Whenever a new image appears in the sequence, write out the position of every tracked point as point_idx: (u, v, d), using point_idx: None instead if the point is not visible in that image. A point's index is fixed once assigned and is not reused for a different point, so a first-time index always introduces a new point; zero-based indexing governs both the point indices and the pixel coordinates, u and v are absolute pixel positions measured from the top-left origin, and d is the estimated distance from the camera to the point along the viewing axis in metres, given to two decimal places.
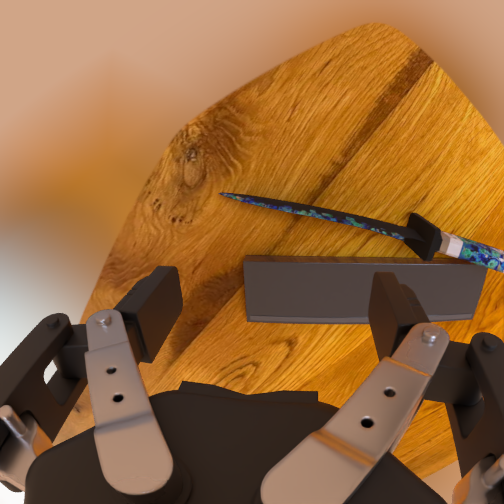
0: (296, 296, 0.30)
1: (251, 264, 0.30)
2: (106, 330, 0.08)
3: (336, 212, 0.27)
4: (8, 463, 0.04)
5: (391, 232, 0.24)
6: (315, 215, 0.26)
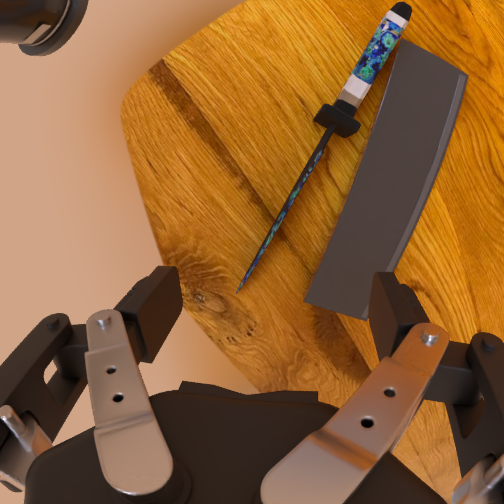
0: (359, 269, 0.28)
1: (309, 296, 0.30)
2: (106, 330, 0.08)
3: (285, 203, 0.27)
4: (8, 463, 0.04)
5: (314, 160, 0.23)
6: (275, 229, 0.26)
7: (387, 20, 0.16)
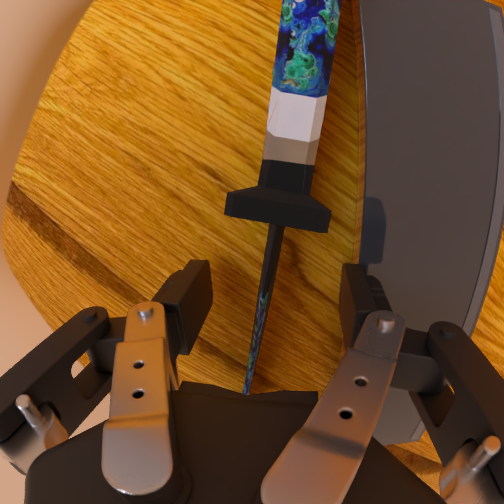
0: (395, 402, 0.15)
1: None
2: (145, 323, 0.09)
3: None
4: (17, 450, 0.05)
5: None
6: None
7: None
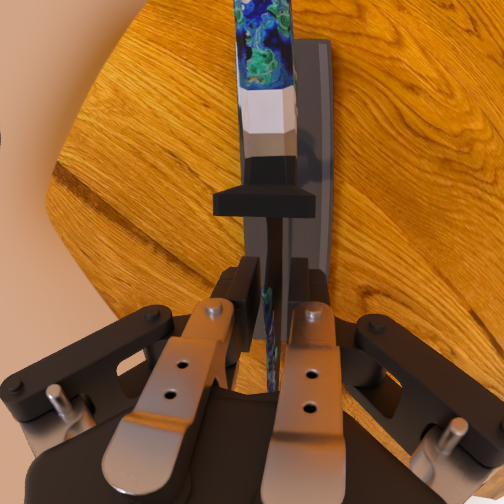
0: None
1: None
2: (209, 320, 0.09)
3: None
4: (36, 434, 0.05)
5: None
6: None
7: None
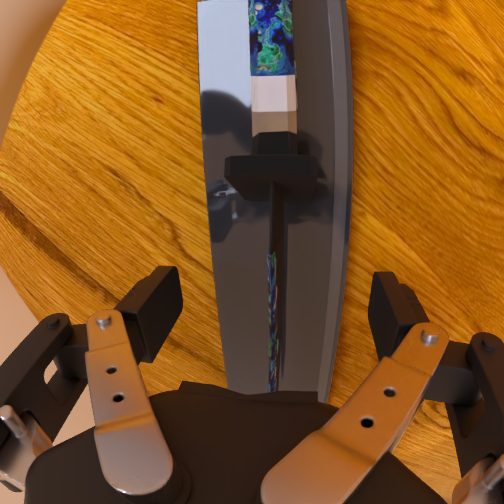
0: (281, 368, 0.19)
1: None
2: (106, 330, 0.08)
3: None
4: (8, 463, 0.04)
5: None
6: None
7: None
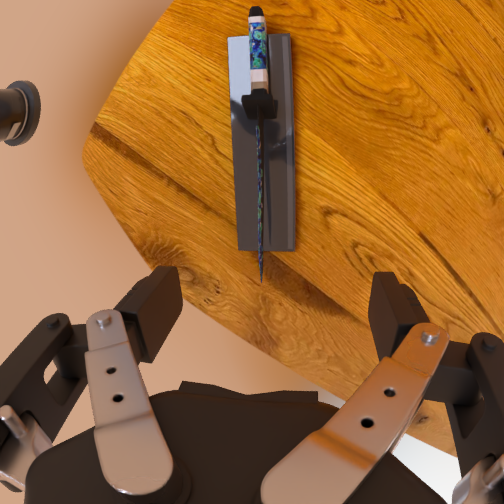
0: (266, 211, 0.37)
1: (240, 244, 0.39)
2: (106, 330, 0.08)
3: None
4: (8, 463, 0.04)
5: None
6: (258, 203, 0.31)
7: (250, 24, 0.26)
